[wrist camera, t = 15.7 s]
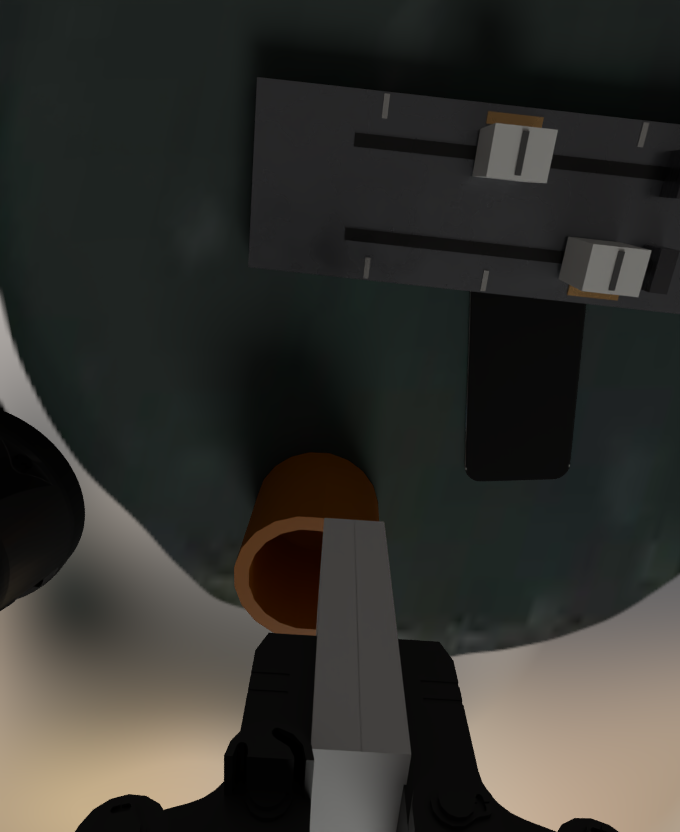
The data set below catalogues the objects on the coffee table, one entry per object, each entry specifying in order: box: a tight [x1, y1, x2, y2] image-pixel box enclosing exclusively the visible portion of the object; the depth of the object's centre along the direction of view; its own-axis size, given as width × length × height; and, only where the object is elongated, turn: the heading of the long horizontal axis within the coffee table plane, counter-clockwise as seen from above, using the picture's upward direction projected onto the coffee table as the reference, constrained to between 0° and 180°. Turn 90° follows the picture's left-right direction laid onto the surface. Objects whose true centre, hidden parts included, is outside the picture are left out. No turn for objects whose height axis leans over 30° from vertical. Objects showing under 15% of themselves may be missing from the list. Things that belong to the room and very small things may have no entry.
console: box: [248, 77, 680, 314], centre depth 35 cm, size 28×10×4 cm, turn 84°
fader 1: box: [472, 123, 558, 183], centre depth 32 cm, size 3×2×4 cm
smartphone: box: [465, 291, 586, 481], centre depth 41 cm, size 7×1×15 cm
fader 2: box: [559, 237, 652, 297], centre depth 33 cm, size 3×2×4 cm
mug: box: [234, 452, 379, 636], centre depth 41 cm, size 9×12×9 cm
